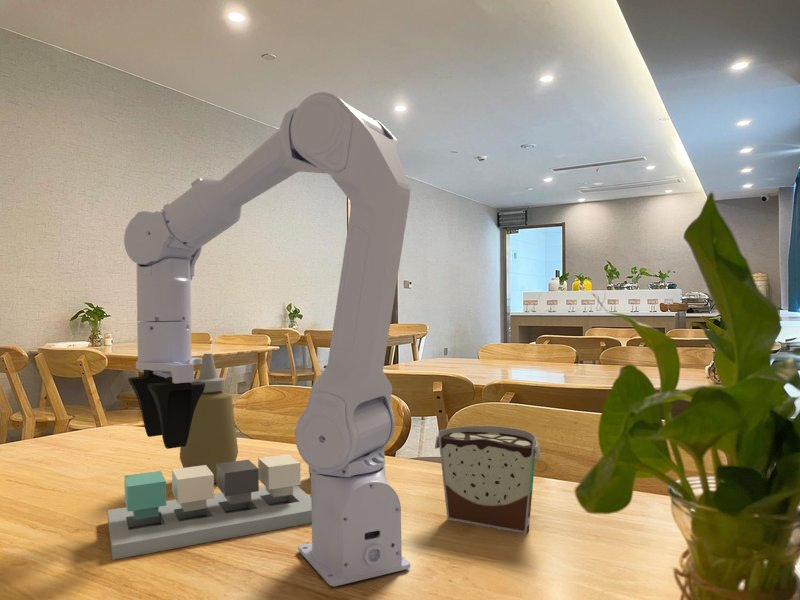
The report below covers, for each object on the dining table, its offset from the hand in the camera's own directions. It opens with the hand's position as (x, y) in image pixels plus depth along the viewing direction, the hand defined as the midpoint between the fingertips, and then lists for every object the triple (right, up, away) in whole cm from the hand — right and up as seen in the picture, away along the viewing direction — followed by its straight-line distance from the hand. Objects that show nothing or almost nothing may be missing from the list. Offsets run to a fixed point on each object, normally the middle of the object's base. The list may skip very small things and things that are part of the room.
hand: (165, 441), depth 69 cm
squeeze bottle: (-1, -10, +18) cm, 21 cm away
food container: (+38, -9, +1) cm, 39 cm away
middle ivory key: (+3, -7, 0) cm, 8 cm away
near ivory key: (+12, -7, +4) cm, 15 cm away
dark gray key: (+8, -7, +2) cm, 11 cm away
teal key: (-1, -7, -3) cm, 8 cm away
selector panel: (+5, -9, +1) cm, 11 cm away
